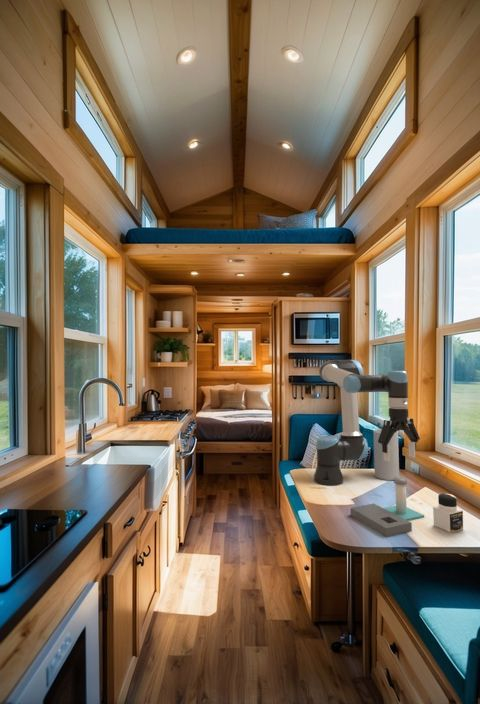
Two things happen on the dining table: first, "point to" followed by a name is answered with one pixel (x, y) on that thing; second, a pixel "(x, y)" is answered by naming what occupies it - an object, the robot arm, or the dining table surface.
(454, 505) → the medicine bottle
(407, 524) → the grey socket plate
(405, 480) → the plug
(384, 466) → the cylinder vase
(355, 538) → the dining table surface
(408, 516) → the mat
